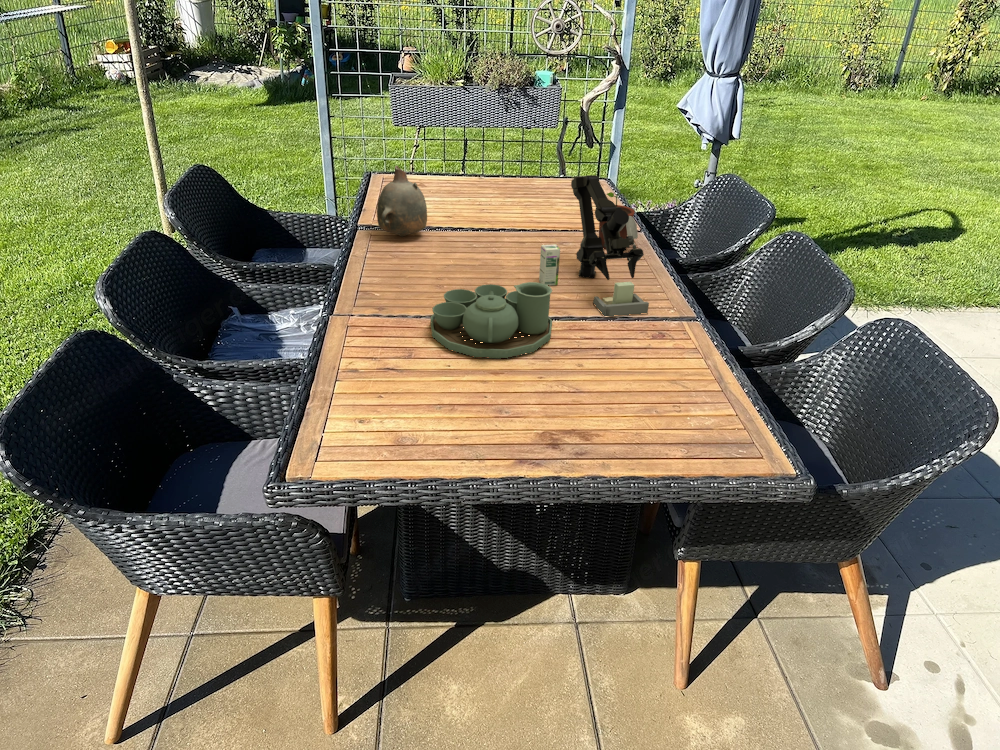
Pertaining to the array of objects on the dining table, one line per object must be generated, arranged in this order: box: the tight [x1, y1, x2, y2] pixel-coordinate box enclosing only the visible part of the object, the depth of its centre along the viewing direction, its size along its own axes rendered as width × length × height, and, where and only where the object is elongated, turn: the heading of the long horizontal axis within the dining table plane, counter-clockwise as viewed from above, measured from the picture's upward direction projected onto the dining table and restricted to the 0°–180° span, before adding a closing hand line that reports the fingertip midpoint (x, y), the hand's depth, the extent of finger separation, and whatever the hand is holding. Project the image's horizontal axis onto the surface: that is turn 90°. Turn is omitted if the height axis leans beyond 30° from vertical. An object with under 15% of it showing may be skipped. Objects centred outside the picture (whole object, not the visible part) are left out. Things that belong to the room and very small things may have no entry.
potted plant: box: [598, 188, 639, 250], centre depth 294 cm, size 18×22×25 cm
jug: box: [376, 165, 428, 237], centre depth 297 cm, size 24×21×30 cm
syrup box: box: [538, 243, 561, 286], centre depth 261 cm, size 6×6×14 cm
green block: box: [612, 281, 635, 304], centre depth 243 cm, size 3×6×10 cm, turn 105°
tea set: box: [430, 281, 553, 359], centre depth 224 cm, size 40×40×16 cm
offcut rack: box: [592, 292, 650, 317], centre depth 245 cm, size 11×16×4 cm
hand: (620, 278), depth 243 cm, fingers open, 9 cm apart
